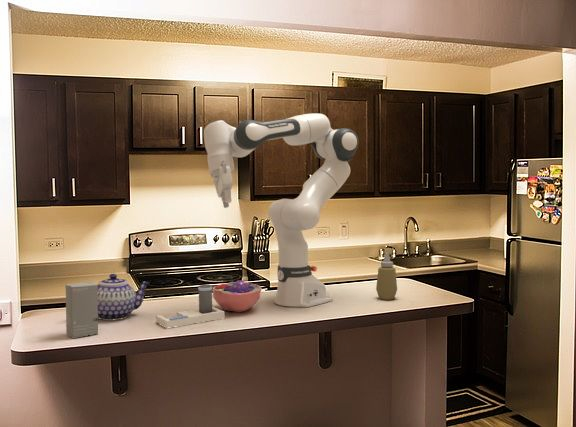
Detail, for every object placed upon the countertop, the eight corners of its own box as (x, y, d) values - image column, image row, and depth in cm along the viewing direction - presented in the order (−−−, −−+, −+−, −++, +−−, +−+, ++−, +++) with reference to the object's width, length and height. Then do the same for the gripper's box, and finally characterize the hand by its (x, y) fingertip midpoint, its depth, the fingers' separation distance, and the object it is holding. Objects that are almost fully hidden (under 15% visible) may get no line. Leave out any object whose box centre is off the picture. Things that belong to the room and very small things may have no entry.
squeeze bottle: (397, 301, 226) (397, 254, 225) (375, 300, 227) (376, 254, 226) (396, 296, 234) (397, 251, 233) (376, 295, 235) (376, 250, 234)
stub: (208, 315, 207) (208, 284, 206) (215, 318, 203) (214, 286, 202) (196, 317, 204) (195, 285, 203) (202, 320, 200) (202, 288, 199)
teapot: (75, 326, 194) (74, 280, 193) (74, 314, 208) (73, 272, 207) (154, 318, 203) (152, 275, 201) (148, 308, 217) (147, 267, 216)
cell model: (250, 302, 226) (250, 272, 225) (268, 314, 208) (267, 282, 207) (207, 306, 220) (206, 275, 219) (221, 319, 202) (220, 286, 201)
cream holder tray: (212, 313, 209) (212, 305, 209) (224, 318, 202) (224, 310, 202) (156, 323, 197) (156, 314, 197) (166, 328, 190) (166, 319, 190)
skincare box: (72, 339, 179) (70, 287, 178) (65, 333, 185) (63, 283, 184) (100, 334, 184) (98, 284, 183) (92, 329, 190) (91, 280, 188)
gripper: (233, 157, 198) (240, 198, 197) (227, 172, 218) (233, 208, 216) (214, 160, 197) (221, 200, 195) (210, 174, 217) (216, 211, 215)
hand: (227, 205), depth 206 cm, fingers open, 8 cm apart
